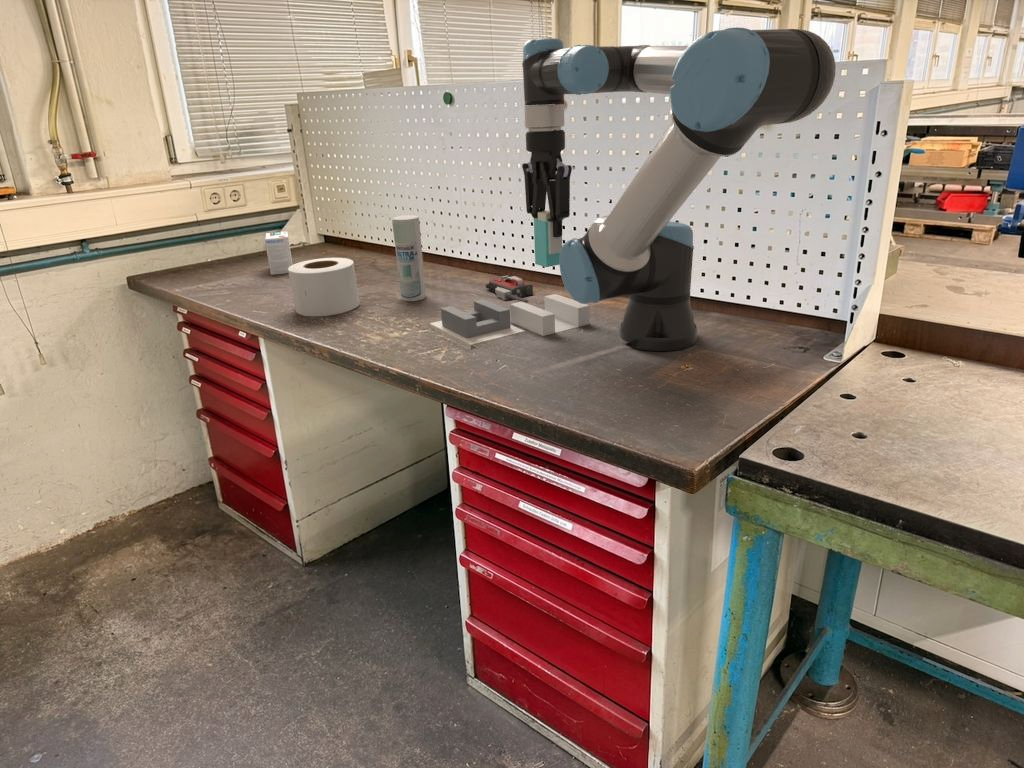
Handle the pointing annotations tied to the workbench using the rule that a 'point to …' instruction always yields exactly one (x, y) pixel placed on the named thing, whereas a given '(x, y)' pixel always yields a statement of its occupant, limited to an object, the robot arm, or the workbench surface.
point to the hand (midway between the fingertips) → (548, 251)
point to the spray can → (409, 257)
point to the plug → (543, 242)
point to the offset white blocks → (550, 315)
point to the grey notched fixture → (475, 323)
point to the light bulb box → (278, 252)
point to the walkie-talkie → (510, 288)
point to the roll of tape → (324, 286)
